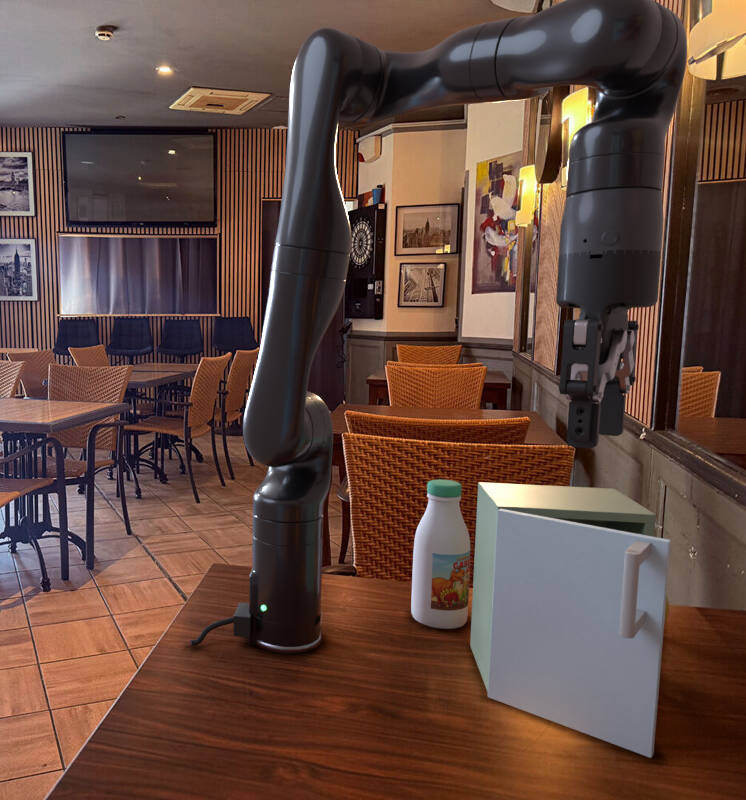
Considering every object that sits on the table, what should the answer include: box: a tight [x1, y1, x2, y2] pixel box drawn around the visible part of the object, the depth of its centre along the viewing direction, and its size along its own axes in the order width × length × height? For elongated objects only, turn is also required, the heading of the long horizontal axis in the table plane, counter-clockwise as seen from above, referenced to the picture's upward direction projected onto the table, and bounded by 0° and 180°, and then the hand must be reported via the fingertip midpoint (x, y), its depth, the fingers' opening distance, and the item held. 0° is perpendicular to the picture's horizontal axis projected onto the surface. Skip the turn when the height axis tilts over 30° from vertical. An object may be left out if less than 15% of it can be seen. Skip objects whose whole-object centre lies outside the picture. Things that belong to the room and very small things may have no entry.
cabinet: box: [469, 481, 657, 693], centre depth 82 cm, size 12×16×22 cm
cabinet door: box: [487, 509, 672, 759], centre depth 70 cm, size 6×16×22 cm, turn 47°
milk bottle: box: [410, 479, 471, 630], centre depth 98 cm, size 8×8×20 cm
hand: (595, 440), depth 60 cm, fingers open, 8 cm apart
